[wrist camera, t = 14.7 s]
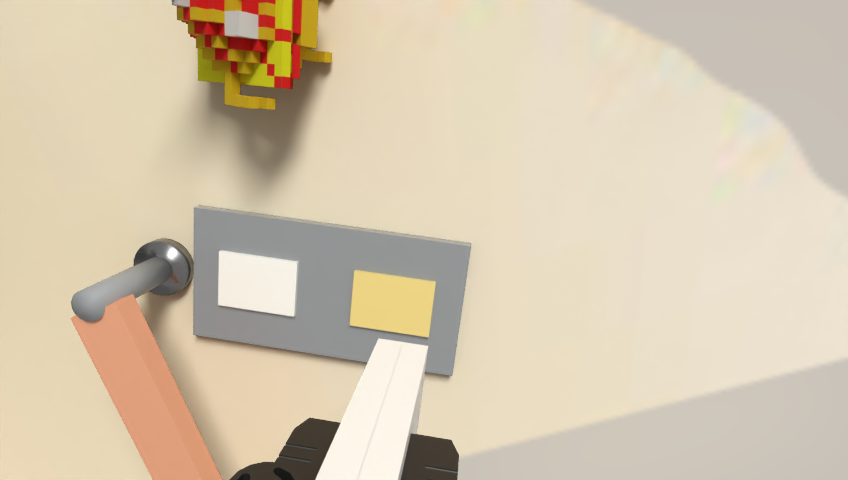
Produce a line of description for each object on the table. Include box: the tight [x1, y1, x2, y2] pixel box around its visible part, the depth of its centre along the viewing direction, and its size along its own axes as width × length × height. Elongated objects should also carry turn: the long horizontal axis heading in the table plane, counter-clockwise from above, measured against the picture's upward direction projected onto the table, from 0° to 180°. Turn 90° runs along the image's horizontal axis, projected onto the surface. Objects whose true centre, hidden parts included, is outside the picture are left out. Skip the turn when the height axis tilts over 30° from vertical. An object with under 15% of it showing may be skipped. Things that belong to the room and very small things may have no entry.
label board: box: [193, 205, 471, 376], centre depth 47 cm, size 24×12×1 cm, turn 83°
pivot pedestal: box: [134, 239, 194, 296], centre depth 48 cm, size 5×5×1 cm
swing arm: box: [71, 257, 222, 480], centre depth 45 cm, size 26×4×10 cm, turn 19°
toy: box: [172, 0, 332, 110], centre depth 37 cm, size 14×10×15 cm
